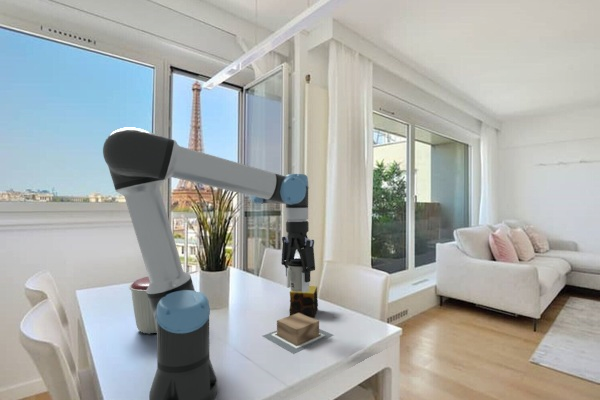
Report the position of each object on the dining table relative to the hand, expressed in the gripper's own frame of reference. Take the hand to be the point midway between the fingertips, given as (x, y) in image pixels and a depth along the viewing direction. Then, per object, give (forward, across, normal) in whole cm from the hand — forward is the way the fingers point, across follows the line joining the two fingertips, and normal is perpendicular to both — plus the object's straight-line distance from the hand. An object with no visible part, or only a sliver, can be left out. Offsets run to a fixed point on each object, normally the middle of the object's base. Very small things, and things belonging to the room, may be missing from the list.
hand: (297, 288), depth 103 cm
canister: (+16, +40, +32) cm, 54 cm away
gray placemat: (+16, 0, 0) cm, 16 cm away
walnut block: (+16, 0, 0) cm, 16 cm away
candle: (+17, +14, -16) cm, 27 cm away
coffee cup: (0, 0, 0) cm, 0 cm away
